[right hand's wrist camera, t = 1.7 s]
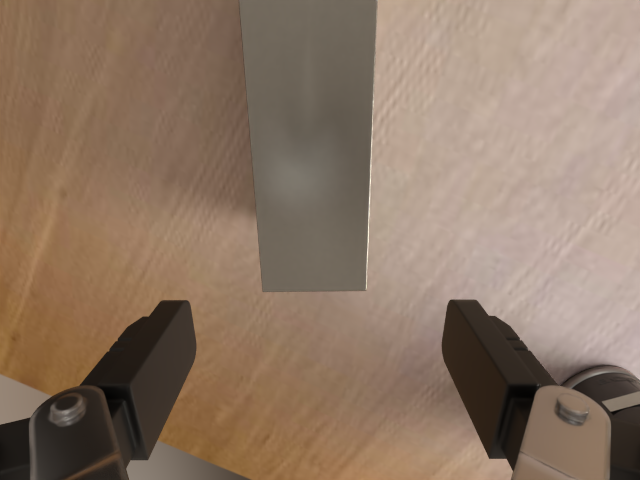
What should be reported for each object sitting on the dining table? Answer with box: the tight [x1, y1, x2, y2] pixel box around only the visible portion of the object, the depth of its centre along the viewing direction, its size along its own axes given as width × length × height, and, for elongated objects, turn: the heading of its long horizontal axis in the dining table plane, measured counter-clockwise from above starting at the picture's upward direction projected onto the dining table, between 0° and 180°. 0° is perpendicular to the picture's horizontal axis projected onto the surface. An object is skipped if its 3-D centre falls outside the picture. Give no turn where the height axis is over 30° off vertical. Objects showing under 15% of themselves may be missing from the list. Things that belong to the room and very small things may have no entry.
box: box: [239, 0, 378, 292], centre depth 23 cm, size 28×6×13 cm, turn 1°
